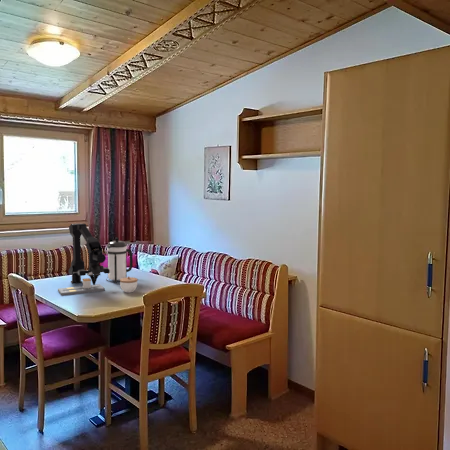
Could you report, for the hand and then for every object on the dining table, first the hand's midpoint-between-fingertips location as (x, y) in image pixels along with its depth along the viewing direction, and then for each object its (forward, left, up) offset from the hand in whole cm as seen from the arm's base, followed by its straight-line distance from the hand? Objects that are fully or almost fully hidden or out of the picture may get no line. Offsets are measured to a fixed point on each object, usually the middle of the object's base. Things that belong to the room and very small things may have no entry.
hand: (94, 284), depth 288 cm
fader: (0, -5, -1) cm, 5 cm away
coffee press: (-18, +21, -3) cm, 28 cm away
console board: (0, -8, -3) cm, 8 cm away
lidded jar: (+14, +18, -3) cm, 23 cm away
